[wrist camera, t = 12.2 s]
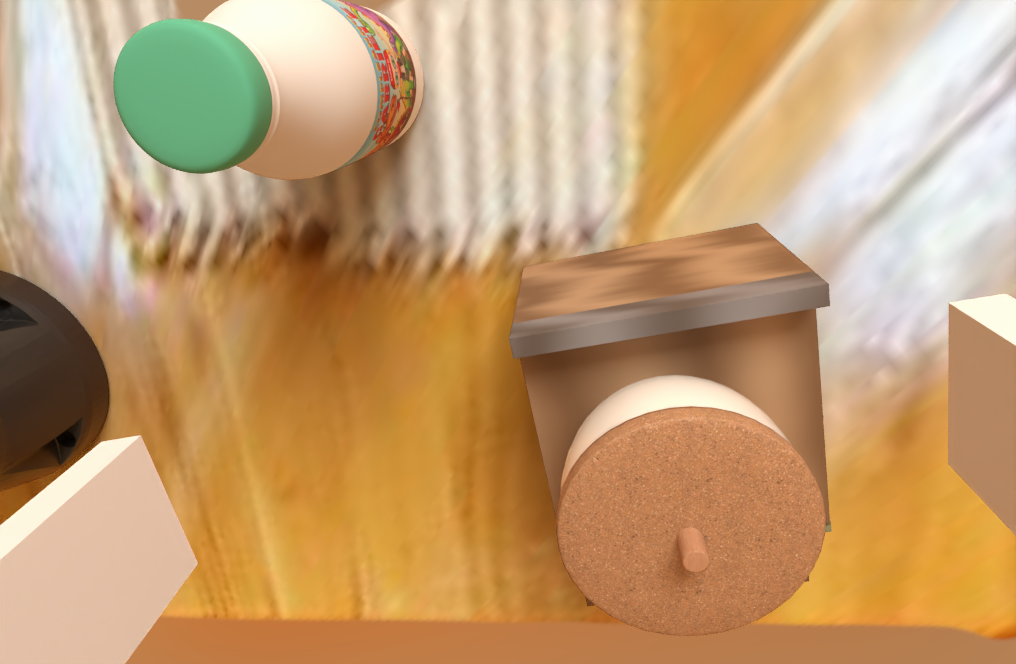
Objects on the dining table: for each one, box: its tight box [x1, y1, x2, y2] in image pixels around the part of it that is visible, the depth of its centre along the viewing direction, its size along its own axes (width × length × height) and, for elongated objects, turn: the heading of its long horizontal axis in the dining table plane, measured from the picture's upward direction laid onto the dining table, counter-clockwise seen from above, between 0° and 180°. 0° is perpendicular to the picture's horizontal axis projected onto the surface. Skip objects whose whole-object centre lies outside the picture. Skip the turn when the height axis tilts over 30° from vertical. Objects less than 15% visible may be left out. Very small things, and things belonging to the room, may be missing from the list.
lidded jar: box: [556, 375, 826, 636], centre depth 31 cm, size 11×11×9 cm
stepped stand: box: [509, 223, 831, 606], centre depth 40 cm, size 14×22×12 cm, turn 12°
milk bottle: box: [114, 0, 424, 180], centre depth 31 cm, size 8×8×20 cm
